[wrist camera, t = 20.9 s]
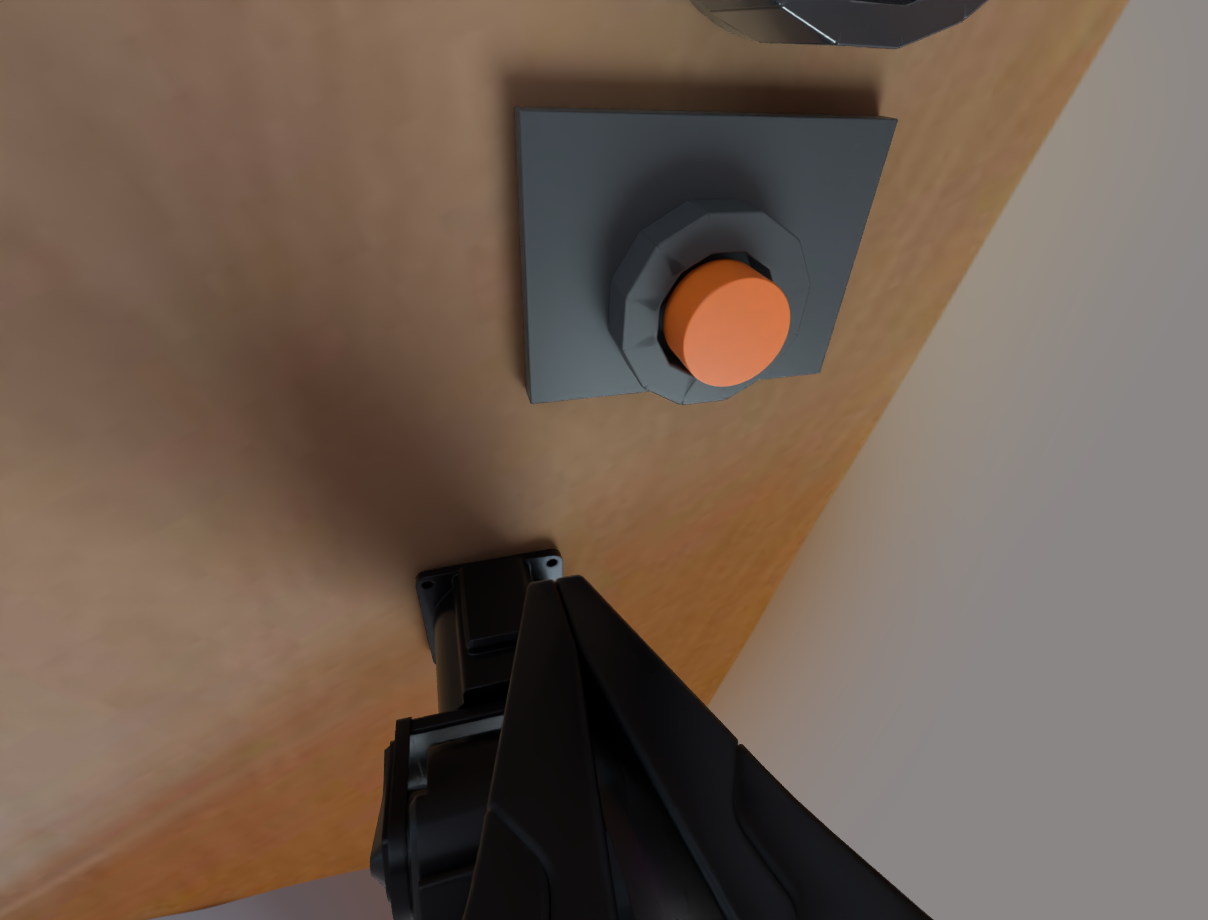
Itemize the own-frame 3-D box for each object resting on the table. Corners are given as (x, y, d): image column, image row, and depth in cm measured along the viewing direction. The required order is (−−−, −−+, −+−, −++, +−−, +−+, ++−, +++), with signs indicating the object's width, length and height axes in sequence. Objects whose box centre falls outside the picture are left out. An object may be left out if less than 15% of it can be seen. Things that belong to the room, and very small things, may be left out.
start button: (751, 358, 20) (776, 381, 19) (657, 367, 19) (676, 392, 18) (773, 256, 18) (803, 274, 17) (669, 260, 17) (691, 280, 16)
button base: (807, 363, 24) (843, 393, 22) (526, 392, 21) (538, 428, 19) (880, 115, 18) (935, 125, 16) (513, 106, 15) (529, 117, 13)
